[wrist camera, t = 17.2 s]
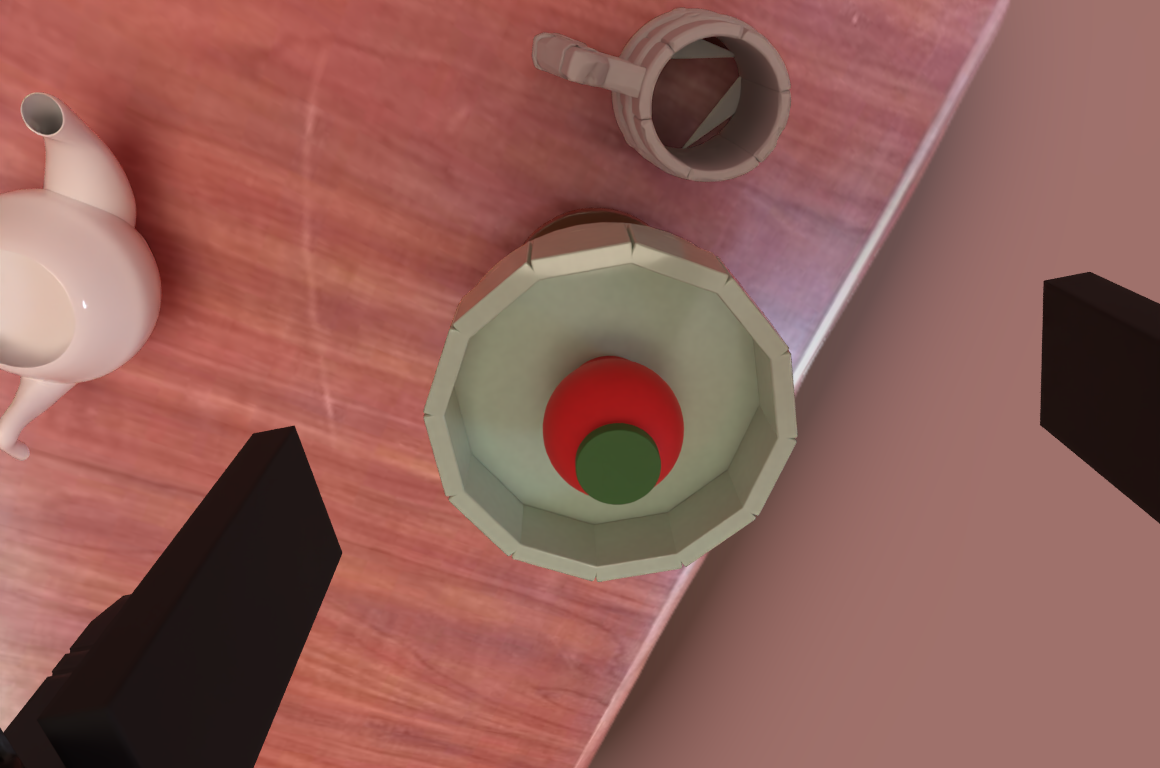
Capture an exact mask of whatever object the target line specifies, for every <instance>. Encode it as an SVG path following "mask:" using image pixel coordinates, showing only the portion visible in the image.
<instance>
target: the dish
mask: <svg viewBox="0 0 1160 768" xmlns="http://www.w3.org/2000/svg"><path fill="white" fill-rule="evenodd" d="M788 349H789V347H788V346H787V345H786V343H785V342H784V340H783V339H782V338H781V336H780V335H779V333H778V332H777V331H776V329H775V328H774V327H773V325H772V324H771V322H770V321H769V320H768V318H767V317H766V316H765V315H764V313H763V312H762V311H761V310H760V308H759V307H758V306H757V305H756V303H755V302H754V301H753V300H752V298H751V297H750V296H749V295H748V293H747V292H746V291H745V289H744V288H743V287H742V285H741V284H740V283H739V281H738V280H737V279H736V278H735V277H734V276H733V274H732V273H731V272H730V271H729V269H728V268H727V267H726V266H725V264H724V263H723V262H722V261H721V259H720V258H719V257H718V256H715V255H714V254H713V253H712V252H709V251H706V250H704V249H701V248H700V247H698V246H696V245H695V244H693V243H691V242H690V241H688V240H685V239H683V238H681V237H678V236H676V235H674V234H672V233H669V232H666V231H663V230H659V229H656V228H652V227H650V226H649V225H648V224H647V223H645V222H643V221H642V220H640V219H638V218H637V217H635V216H632V215H630V214H628V213H625V212H622V211H618V210H615V209H608V208H584V209H577V210H573V211H569V212H566V213H564V214H561V215H559V216H556V217H555V218H553V219H551V220H549V221H547V222H546V223H544V224H543V225H542V226H540V227H539V228H538V229H537V230H535V231H534V232H533V233H532V234H531V235H530V236H529V237H528V239H527V240H526V241H525V242H524V244H523V245H522V246H521V247H519V248H517V249H516V250H514V251H513V252H511V253H510V254H509V255H507V256H506V257H505V258H503V259H502V260H501V261H499V262H498V263H497V264H495V265H494V266H493V267H492V268H491V269H490V270H489V271H488V272H487V273H486V274H485V275H484V276H483V277H482V278H481V279H480V281H479V282H478V283H477V284H476V286H475V287H474V288H473V289H472V290H471V291H470V292H469V293H467V294H466V295H465V296H464V297H463V298H462V299H461V302H460V303H459V304H458V306H457V309H456V312H455V315H454V318H453V320H452V323H451V326H450V329H449V332H448V335H447V338H446V341H445V344H444V347H443V351H442V354H441V357H440V360H439V363H438V366H437V370H436V373H435V376H434V379H433V382H432V385H431V388H430V392H429V395H428V398H427V401H426V404H425V407H424V411H423V412H424V413H425V414H424V417H423V418H424V422H425V425H426V429H427V432H428V436H429V439H430V443H431V446H432V450H433V454H434V457H435V461H436V464H437V468H438V471H439V475H440V478H441V482H442V485H443V489H444V492H445V495H446V496H449V499H448V500H449V501H450V502H451V503H452V504H453V505H454V506H455V507H456V508H457V509H458V510H459V511H460V512H461V513H462V514H464V515H465V516H466V517H467V518H468V519H469V520H470V521H471V522H472V523H473V524H474V525H475V526H476V527H477V528H478V529H480V530H481V531H482V532H483V533H484V534H485V535H486V536H487V537H488V538H489V539H490V540H491V541H492V542H493V543H494V544H495V545H497V546H498V547H499V548H500V549H501V550H502V551H503V552H504V553H505V554H506V555H507V556H510V555H511V554H512V558H513V559H515V560H519V561H522V562H526V563H529V564H533V565H536V566H540V567H543V568H547V569H550V570H554V571H557V572H561V573H564V574H568V575H571V576H575V577H579V578H582V579H586V580H589V581H594V579H595V577H596V579H597V582H602V581H608V580H614V579H620V578H626V577H632V576H638V575H645V574H651V573H657V572H663V571H669V570H675V569H681V568H682V564H683V565H684V566H686V567H687V566H688V565H690V564H691V563H692V562H694V561H695V560H697V559H698V558H700V557H701V556H703V555H704V554H706V553H707V552H708V551H710V550H711V549H713V548H714V547H716V546H717V545H719V544H720V543H721V542H723V541H724V540H726V539H727V538H728V537H730V536H732V535H733V534H735V533H736V532H737V531H739V530H740V529H742V528H743V527H745V526H746V525H747V524H749V523H750V522H752V521H753V520H755V519H756V518H755V515H759V514H760V512H761V510H762V508H763V506H764V504H765V502H766V500H767V498H768V496H769V494H770V493H771V491H772V489H773V487H774V485H775V483H776V480H777V479H778V477H779V475H780V473H781V471H782V469H783V467H784V465H785V463H786V462H787V460H788V458H789V456H790V454H791V452H792V450H793V448H794V446H795V444H796V442H797V441H796V439H795V438H796V437H797V435H798V433H797V422H796V409H795V397H794V385H793V373H792V361H791V353H790V352H789V350H788ZM601 356H618V357H622V358H625V359H628V360H630V361H633V362H636V363H639V364H641V365H644V366H646V367H647V368H649V369H651V370H653V371H654V372H655V373H657V374H658V375H659V376H660V377H661V378H662V379H663V380H664V381H665V382H666V383H667V384H668V385H669V387H670V388H671V389H672V391H673V392H674V394H675V396H676V398H677V400H678V402H679V405H680V407H681V411H682V415H683V421H684V438H683V444H682V448H681V452H680V454H679V457H678V459H677V461H676V463H675V465H674V467H673V468H672V470H671V471H670V472H669V474H668V475H667V476H666V477H665V478H664V479H663V480H662V481H661V482H660V483H659V484H658V485H656V486H655V487H654V488H653V489H652V490H651V491H650V492H649V493H648V494H647V495H646V496H644V497H643V498H641V499H639V500H637V501H635V502H632V503H628V504H623V505H612V504H606V503H602V502H600V501H597V500H595V499H594V498H592V497H591V496H589V495H586V494H584V493H582V492H580V491H578V490H576V489H575V488H573V487H572V486H570V485H569V484H568V483H567V482H566V481H565V480H564V479H563V478H562V477H561V476H560V475H559V474H558V472H557V471H556V470H555V468H554V467H553V465H552V464H551V461H550V459H549V457H548V455H547V452H546V449H545V446H544V439H543V419H544V413H545V409H546V406H547V403H548V401H549V399H550V397H551V395H552V393H553V392H554V390H555V389H556V387H557V386H558V385H559V383H560V382H561V381H562V380H563V379H564V378H565V377H566V376H567V375H569V374H570V373H571V372H573V371H574V370H576V369H577V368H579V367H580V366H581V365H582V364H584V363H585V362H587V361H589V360H591V359H594V358H597V357H601ZM754 514H755V515H754Z"/></svg>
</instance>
